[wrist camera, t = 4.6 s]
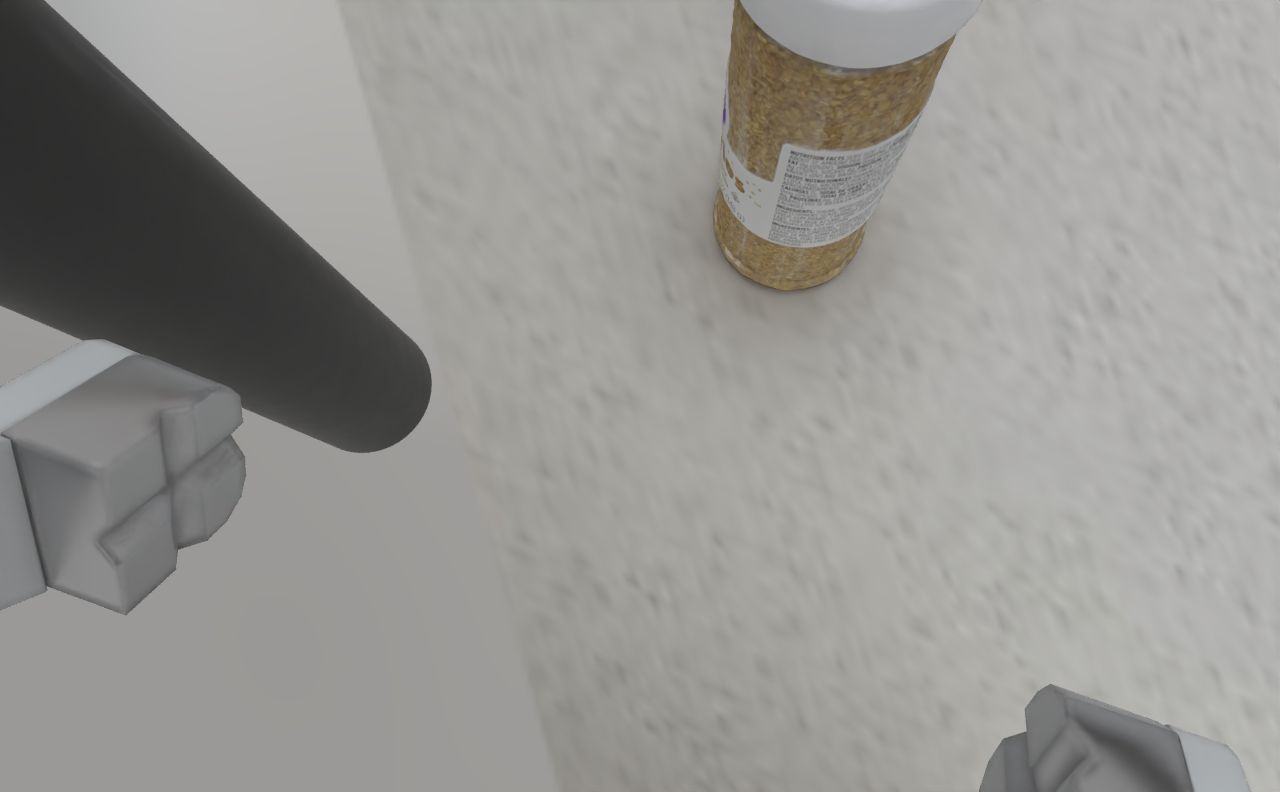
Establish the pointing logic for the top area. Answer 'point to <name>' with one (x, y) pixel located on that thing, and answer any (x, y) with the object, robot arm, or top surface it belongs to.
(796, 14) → the sprinkles bottle
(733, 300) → the top surface
